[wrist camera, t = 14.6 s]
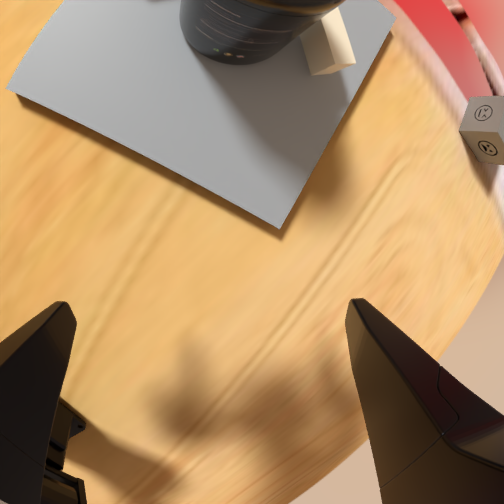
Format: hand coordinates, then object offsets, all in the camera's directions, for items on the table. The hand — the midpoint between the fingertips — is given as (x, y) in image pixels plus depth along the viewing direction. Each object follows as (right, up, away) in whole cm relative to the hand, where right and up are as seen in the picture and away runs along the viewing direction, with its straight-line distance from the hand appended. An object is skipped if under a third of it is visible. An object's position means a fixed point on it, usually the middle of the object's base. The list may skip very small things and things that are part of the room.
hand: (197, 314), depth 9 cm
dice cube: (+25, +15, +15) cm, 33 cm away
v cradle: (0, +17, +7) cm, 18 cm away
